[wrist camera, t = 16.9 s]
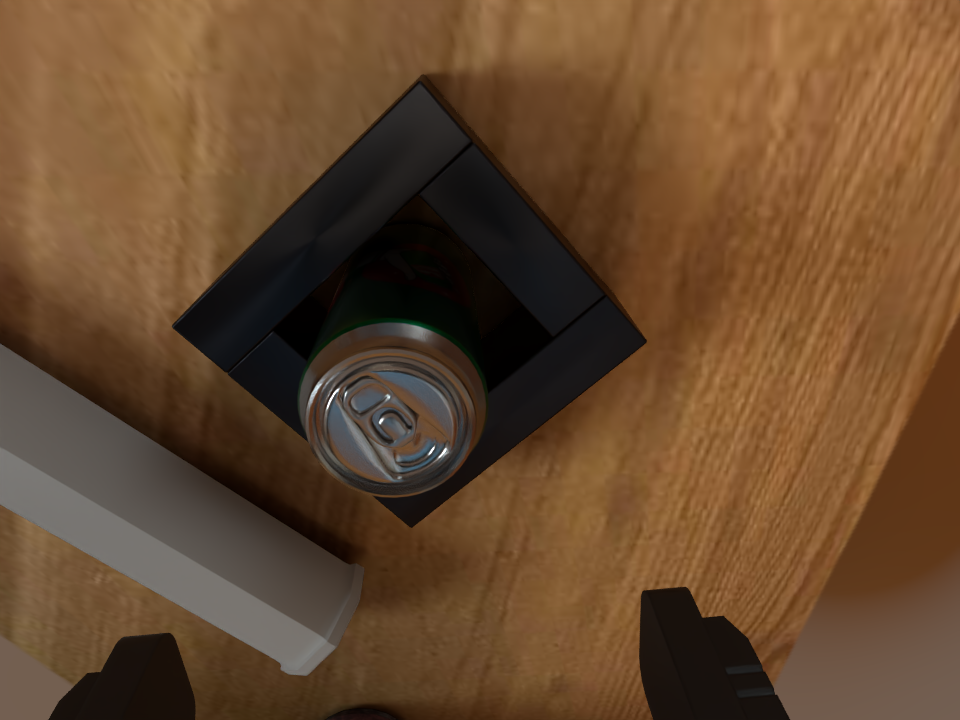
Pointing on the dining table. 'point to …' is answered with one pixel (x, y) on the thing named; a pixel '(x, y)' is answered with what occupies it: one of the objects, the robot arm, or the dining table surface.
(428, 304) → the soda can
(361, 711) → the can
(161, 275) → the dining table surface
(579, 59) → the dining table surface
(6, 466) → the tube
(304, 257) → the holder
